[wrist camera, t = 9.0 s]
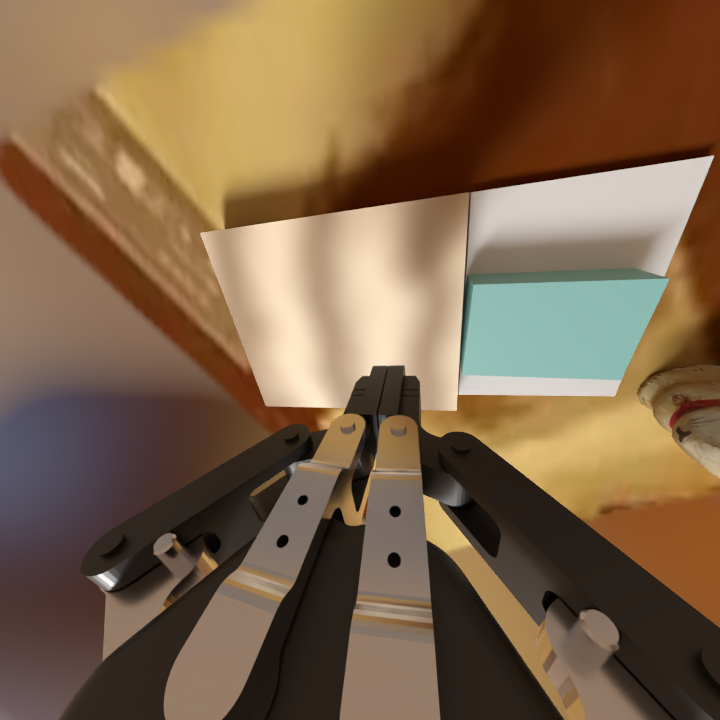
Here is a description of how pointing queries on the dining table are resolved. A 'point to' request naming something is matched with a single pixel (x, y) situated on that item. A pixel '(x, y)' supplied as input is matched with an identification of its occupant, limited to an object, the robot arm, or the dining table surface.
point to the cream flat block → (348, 299)
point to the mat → (579, 240)
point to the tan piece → (688, 410)
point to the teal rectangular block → (556, 322)
